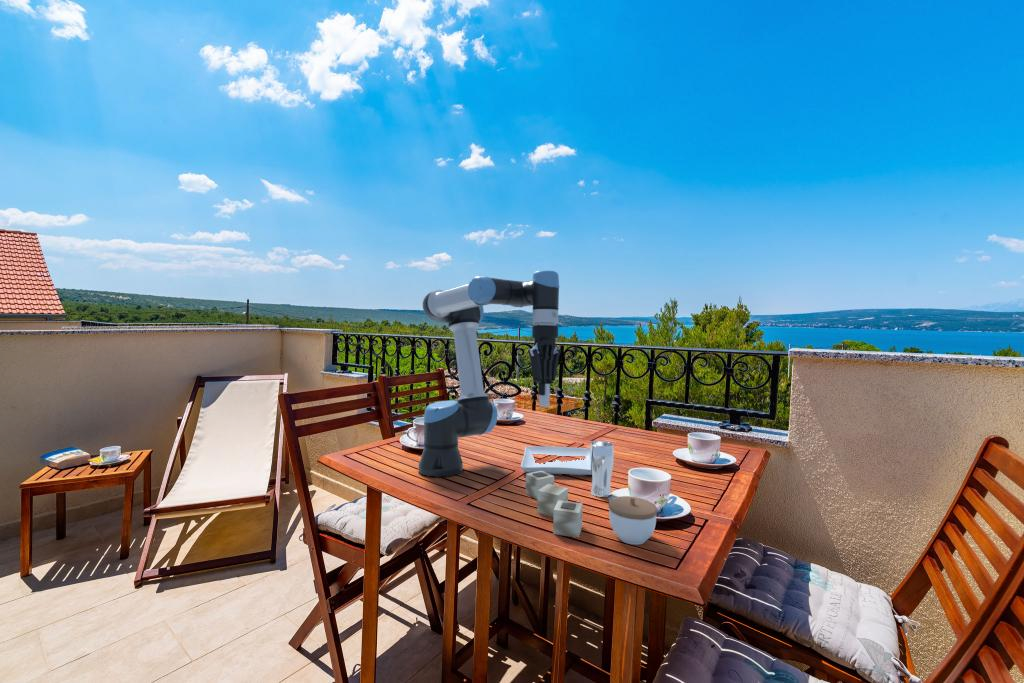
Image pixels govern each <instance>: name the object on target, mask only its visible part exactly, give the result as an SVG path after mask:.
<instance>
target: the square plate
mask: <svg viewBox="0 0 1024 683" xmlns="http://www.w3.org/2000/svg"><path fill="white" fill-rule="evenodd" d="M532 454H546V455H557V456H585V457H586V458H585V459H584V460H583V459H582V460H581V458H580V460H578V459H577V460H576V461H575V460H572V461H567V462H566V461H565V462H564V461H563V462H561V461H559V460H556V461H555V462H554V461H553V462H546V463H545V464H543V463H541V464H539V463H535V460H534V457H533V455H532ZM520 468H521V469H522V470H523V471H524V472H525V473H532V472H537V471H544V472H546V473H548V474H551V475H562V474H570V475H569V476H587V475H588V476H592V473H591V467H590V447H589V448H588V447H586V448H585V447H572V446H569V447H568V446H525V447H524V453H523V457H522V460H521V463H520Z"/></svg>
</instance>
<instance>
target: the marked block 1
mask: <svg viewBox="0 0 1024 683" xmlns="http://www.w3.org/2000/svg"><path fill="white" fill-rule="evenodd" d="M547 484H552V485H555V476H554V474H548V473H546V472H544V471H537V472H532V473H529V472H526V473H525V494H527V495H528V494H529V495H528V496H530V497H531V498H533V497H534V499H535V500H537V501H538V490H539V489H541V488H542V487H544V486H545V485H547Z"/></svg>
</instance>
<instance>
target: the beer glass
mask: <svg viewBox="0 0 1024 683" xmlns="http://www.w3.org/2000/svg"><path fill="white" fill-rule="evenodd" d="M589 448H590V467H591V473H592V475H591V482H592V483H591V490H590V495H591V496H593V495H594V496H593V497H596V496H597V497H596V498H600V497H607V496H608V495H609V494H610V493H612V487H611V480H612V474H613V469H614V461H615V460H614V458H615V457H614V456H615V455H614V452H615V451H614V443H612V442H610V441H605V440H593V441H591V442H590V447H589ZM607 498H608V497H607Z"/></svg>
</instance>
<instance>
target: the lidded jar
mask: <svg viewBox="0 0 1024 683" xmlns="http://www.w3.org/2000/svg"><path fill="white" fill-rule="evenodd" d="M608 512H609V513H608V516H609V517H608V518H609V523H610V526H611V529H612V530H613V532H614V533H615V535H616V536H617V537H618V539H619V541H622V543H625V544H629V545H635V546H639V545H643V544H645V543H646V542H647V541H648V540H649V539H650V538H651V537H652V535H653V534H654V531H655V528H656V524H657V513H658V508H657V506H656V505H655V503H653V502H651V501H649V500H647V499H644V498H641V497H637V496H630V495H629V496H627V495H625V496H624V495H623V496H622V495H621V496H616V497H613V498H611V499H610V500H609V501H608Z"/></svg>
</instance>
